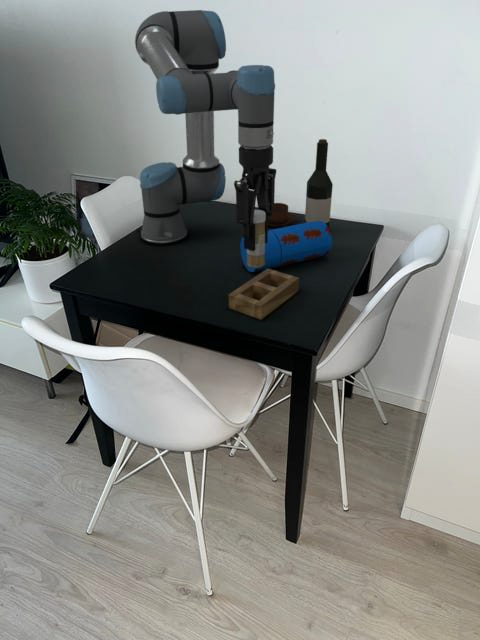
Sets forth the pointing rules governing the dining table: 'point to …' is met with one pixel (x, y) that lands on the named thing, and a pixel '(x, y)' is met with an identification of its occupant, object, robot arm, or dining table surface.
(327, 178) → the wine bottle
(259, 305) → the holder
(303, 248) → the thermos
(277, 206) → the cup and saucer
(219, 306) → the dining table surface
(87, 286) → the dining table surface
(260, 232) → the spice jar
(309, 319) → the dining table surface
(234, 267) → the dining table surface
